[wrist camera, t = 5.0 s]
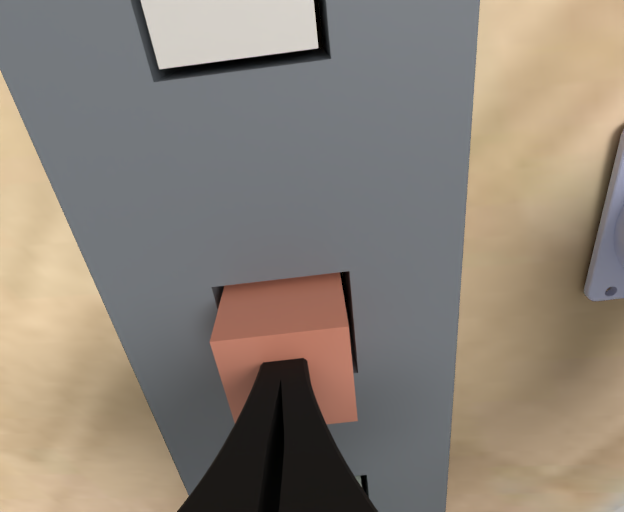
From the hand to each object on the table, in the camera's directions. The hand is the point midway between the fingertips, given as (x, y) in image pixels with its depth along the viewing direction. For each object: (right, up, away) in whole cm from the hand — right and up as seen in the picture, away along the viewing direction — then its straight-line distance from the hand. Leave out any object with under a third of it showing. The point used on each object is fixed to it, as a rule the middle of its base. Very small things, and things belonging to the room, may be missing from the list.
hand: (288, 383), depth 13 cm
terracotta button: (0, +2, +3) cm, 4 cm away
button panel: (0, +3, +6) cm, 6 cm away
